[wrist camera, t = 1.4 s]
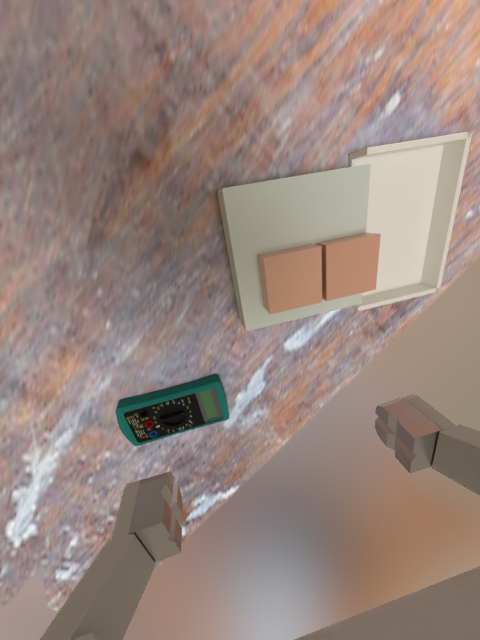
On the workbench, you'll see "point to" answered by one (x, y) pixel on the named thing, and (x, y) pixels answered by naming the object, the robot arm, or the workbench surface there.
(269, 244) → the board
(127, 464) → the workbench surface
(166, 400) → the digital multimeter
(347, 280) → the tile
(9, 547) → the workbench surface
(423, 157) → the tray
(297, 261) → the tile
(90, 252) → the workbench surface
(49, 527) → the workbench surface
